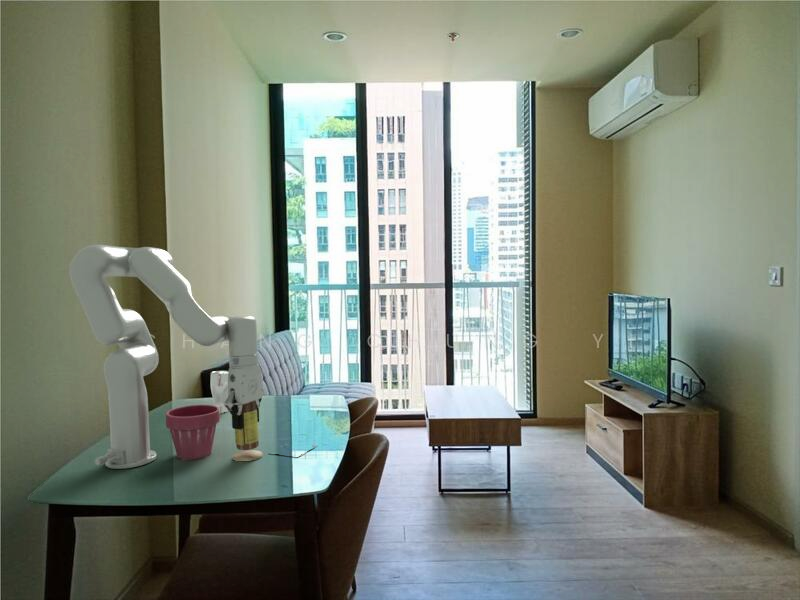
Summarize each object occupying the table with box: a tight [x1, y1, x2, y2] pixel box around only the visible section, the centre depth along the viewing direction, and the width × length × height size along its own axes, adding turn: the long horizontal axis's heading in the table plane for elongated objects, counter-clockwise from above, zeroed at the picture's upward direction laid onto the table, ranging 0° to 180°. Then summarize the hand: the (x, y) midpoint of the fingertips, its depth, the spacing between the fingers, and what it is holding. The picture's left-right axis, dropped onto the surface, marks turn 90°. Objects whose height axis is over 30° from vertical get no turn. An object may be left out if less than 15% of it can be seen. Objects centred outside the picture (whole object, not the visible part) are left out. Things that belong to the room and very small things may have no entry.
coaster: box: [231, 449, 263, 462], centre depth 146 cm, size 8×8×1 cm
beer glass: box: [210, 370, 229, 414], centre depth 196 cm, size 7×7×15 cm
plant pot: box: [165, 404, 221, 461], centre depth 149 cm, size 14×14×13 cm
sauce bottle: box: [234, 401, 260, 451], centre depth 145 cm, size 7×6×20 cm
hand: (246, 424), depth 145 cm, fingers closed on sauce bottle, 6 cm apart
